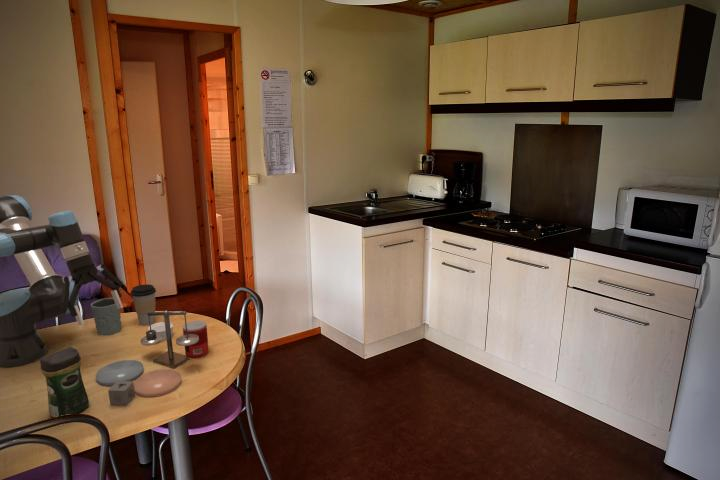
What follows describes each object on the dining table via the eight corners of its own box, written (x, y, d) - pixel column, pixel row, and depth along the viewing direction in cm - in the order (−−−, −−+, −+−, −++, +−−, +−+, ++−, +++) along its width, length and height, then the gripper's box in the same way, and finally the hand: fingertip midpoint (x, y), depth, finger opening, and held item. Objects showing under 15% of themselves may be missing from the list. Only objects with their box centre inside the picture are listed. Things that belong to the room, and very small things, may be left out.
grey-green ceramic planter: (99, 338, 185) (94, 309, 182) (91, 330, 193) (87, 301, 189) (127, 330, 192) (123, 302, 189) (118, 322, 199) (115, 295, 196)
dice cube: (135, 396, 148) (133, 381, 147) (127, 405, 143) (125, 390, 142) (119, 395, 148) (117, 381, 147) (110, 405, 143) (108, 390, 142)
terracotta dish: (123, 390, 151) (122, 386, 150) (159, 369, 163) (159, 365, 162) (155, 401, 145) (155, 397, 144) (191, 379, 157) (190, 375, 156)
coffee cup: (150, 328, 194) (146, 292, 190) (129, 326, 196) (124, 290, 192) (164, 318, 203) (160, 284, 199) (143, 316, 205) (139, 282, 201)
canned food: (213, 350, 176) (210, 322, 173) (197, 360, 169) (194, 331, 166) (197, 346, 179) (194, 318, 176) (180, 356, 172) (177, 327, 169)
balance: (138, 357, 171) (131, 304, 166) (154, 349, 177) (148, 297, 172) (190, 373, 160) (184, 317, 155) (205, 364, 166) (200, 309, 161)
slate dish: (86, 379, 157) (85, 375, 156) (124, 360, 169) (123, 356, 169) (116, 390, 151) (115, 386, 150) (153, 369, 163) (152, 365, 162)
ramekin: (155, 331, 191) (154, 321, 190) (177, 332, 191) (176, 321, 190) (144, 342, 183) (143, 331, 181) (168, 342, 182) (167, 331, 181)
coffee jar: (79, 398, 147) (69, 341, 142) (93, 406, 143) (84, 348, 138) (44, 414, 139) (33, 355, 134) (58, 423, 135) (47, 362, 130)
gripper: (42, 267, 150) (68, 331, 153) (118, 244, 170) (140, 300, 172) (33, 271, 154) (59, 332, 157) (108, 247, 174) (129, 302, 177)
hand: (101, 316), depth 165 cm, fingers open, 13 cm apart
